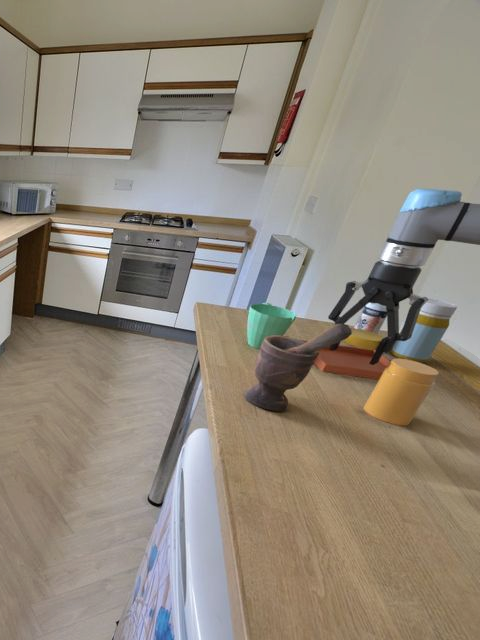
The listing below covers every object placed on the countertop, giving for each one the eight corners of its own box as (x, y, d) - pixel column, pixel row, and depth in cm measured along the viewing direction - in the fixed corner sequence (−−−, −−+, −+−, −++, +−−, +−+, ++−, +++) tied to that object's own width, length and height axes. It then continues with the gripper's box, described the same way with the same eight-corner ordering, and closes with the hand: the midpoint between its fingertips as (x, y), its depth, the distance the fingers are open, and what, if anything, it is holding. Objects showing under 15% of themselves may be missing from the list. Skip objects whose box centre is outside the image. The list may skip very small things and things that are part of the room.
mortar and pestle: (315, 412, 80) (362, 318, 72) (302, 428, 75) (352, 330, 66) (250, 386, 88) (285, 299, 79) (234, 400, 83) (271, 308, 74)
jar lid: (333, 339, 99) (337, 330, 98) (346, 334, 103) (350, 325, 102) (372, 352, 93) (377, 343, 92) (385, 346, 97) (389, 337, 96)
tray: (371, 356, 105) (375, 349, 104) (409, 384, 93) (414, 376, 92) (295, 346, 109) (298, 339, 108) (322, 371, 96) (325, 364, 95)
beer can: (341, 341, 113) (362, 300, 108) (357, 341, 113) (377, 301, 108) (358, 349, 108) (380, 307, 103) (374, 349, 109) (396, 307, 104)
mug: (284, 357, 102) (300, 321, 97) (239, 348, 106) (252, 312, 101) (274, 336, 114) (288, 303, 109) (234, 329, 118) (246, 296, 113)
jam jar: (395, 408, 83) (423, 361, 78) (418, 428, 77) (451, 378, 72) (356, 402, 84) (381, 355, 80) (376, 421, 78) (405, 371, 74)
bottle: (389, 357, 105) (419, 302, 99) (389, 348, 110) (418, 296, 103) (427, 366, 101) (461, 310, 95) (425, 357, 106) (458, 303, 99)
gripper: (336, 254, 96) (298, 342, 106) (459, 278, 80) (401, 378, 90) (350, 252, 99) (312, 337, 109) (470, 274, 84) (413, 371, 93)
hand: (352, 355), depth 100 cm, fingers closed on jar lid, 7 cm apart
